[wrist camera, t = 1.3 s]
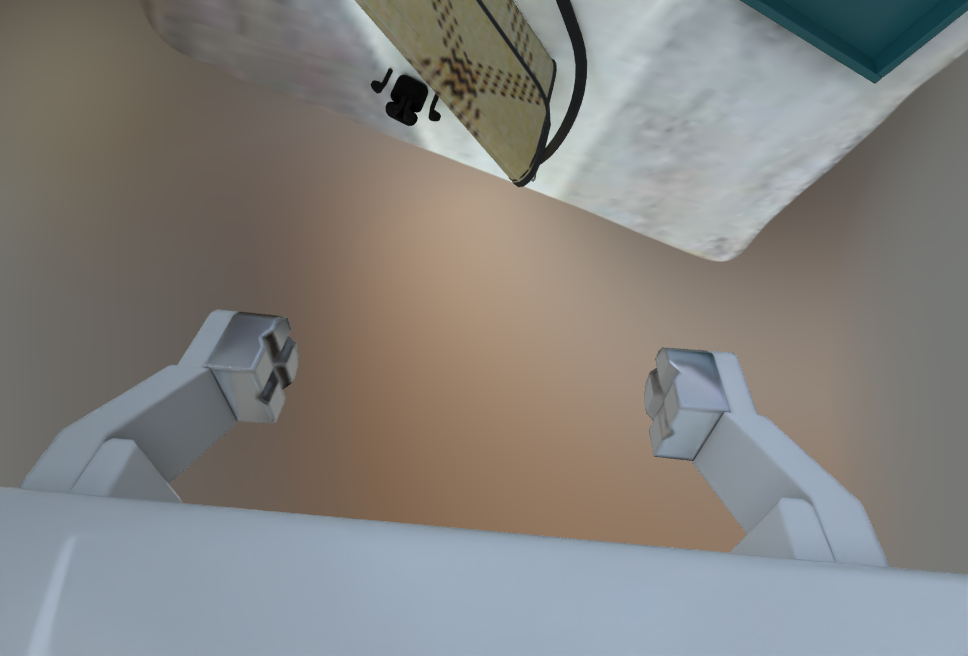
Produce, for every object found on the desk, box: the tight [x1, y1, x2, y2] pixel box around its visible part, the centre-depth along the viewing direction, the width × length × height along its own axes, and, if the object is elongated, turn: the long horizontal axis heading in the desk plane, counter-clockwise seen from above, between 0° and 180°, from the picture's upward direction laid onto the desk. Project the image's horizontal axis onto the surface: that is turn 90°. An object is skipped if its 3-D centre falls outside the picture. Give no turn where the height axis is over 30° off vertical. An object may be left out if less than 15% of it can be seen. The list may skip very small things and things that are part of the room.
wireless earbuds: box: [371, 68, 441, 126], centre depth 51 cm, size 7×2×5 cm, turn 66°
